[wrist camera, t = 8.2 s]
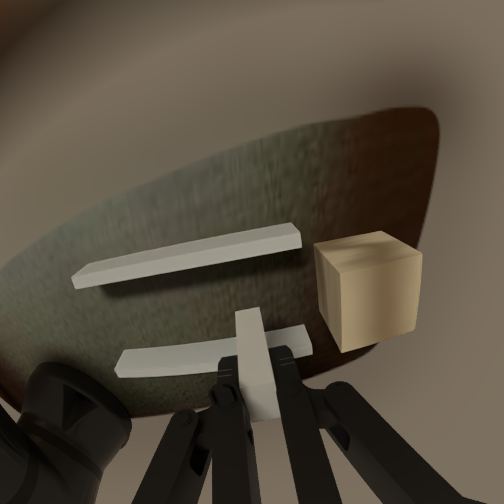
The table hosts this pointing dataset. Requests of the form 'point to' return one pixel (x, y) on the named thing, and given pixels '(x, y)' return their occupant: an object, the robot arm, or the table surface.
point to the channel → (186, 257)
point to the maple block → (367, 288)
